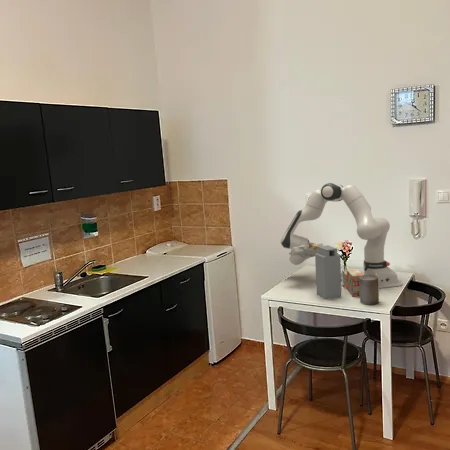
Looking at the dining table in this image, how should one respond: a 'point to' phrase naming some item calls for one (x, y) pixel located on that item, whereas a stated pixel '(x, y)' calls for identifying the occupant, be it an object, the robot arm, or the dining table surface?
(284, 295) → the dining table surface
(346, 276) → the stack of blocks
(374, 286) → the pillar candle
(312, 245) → the oak bar
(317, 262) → the slate-grey stand
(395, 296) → the dining table surface
